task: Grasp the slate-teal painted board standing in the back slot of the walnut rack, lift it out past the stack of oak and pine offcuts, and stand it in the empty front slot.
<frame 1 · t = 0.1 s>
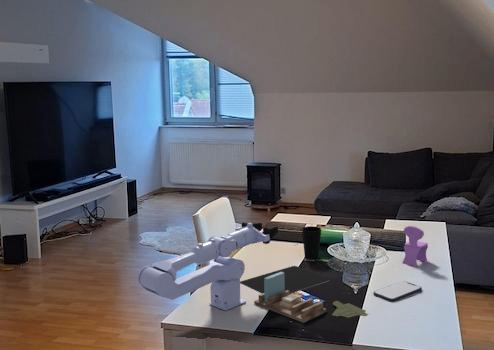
hand: (269, 227, 199), 22 cm above the table, tool horizontal, fingers open, 7 cm apart
tablet: (285, 282, 208), on the table
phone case: (397, 294, 195), on the table
olive flat irregular piece: (351, 315, 179), on the table
cup: (311, 258, 233), on the table
offcut top: (291, 300, 185), point 2 cm above the table, touching offcut low
rack: (289, 307, 185), on the table
offcut low: (291, 304, 185), point 1 cm above the table, touching offcut top, rack
board: (274, 298, 190), point 1 cm above the table, touching rack
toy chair: (414, 262, 226), on the table
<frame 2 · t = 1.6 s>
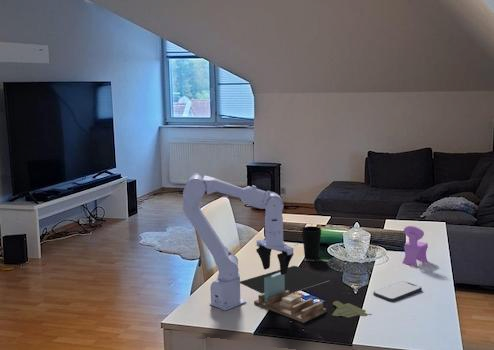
hand: (275, 271, 188), 10 cm above the table, tool pointing down, fingers open, 7 cm apart
nothing on the table moved.
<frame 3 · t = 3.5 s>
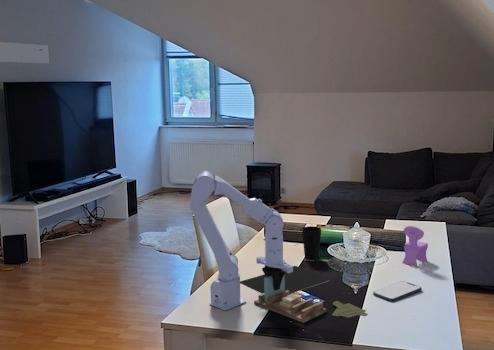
hand: (274, 288, 189), 4 cm above the table, tool pointing down, fingers closed on board, 1 cm apart
board: (274, 298, 190), point 1 cm above the table, touching gripper, rack
everything else where it was.
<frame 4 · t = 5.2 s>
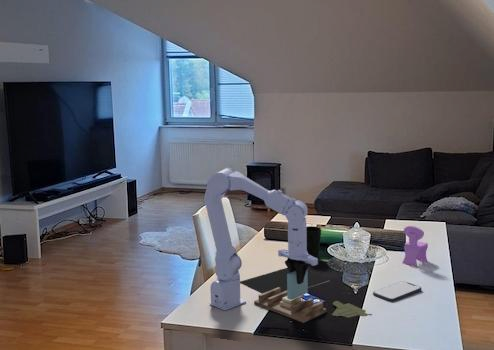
hand: (297, 282, 181), 9 cm above the table, tool pointing down, fingers closed on board
board: (297, 295, 182), point 5 cm above the table, touching gripper
everything else where it was.
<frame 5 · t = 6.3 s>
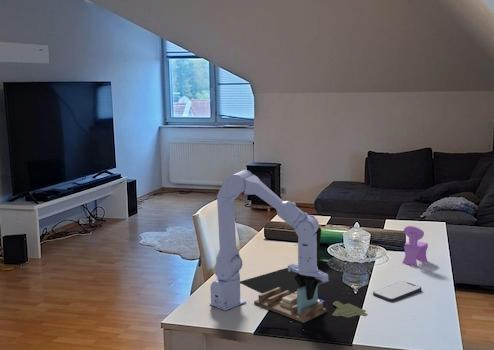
hand: (307, 298, 179), 5 cm above the table, tool pointing down, fingers closed on board, 1 cm apart
board: (307, 310, 180), point 1 cm above the table, touching gripper, rack
everything else where it was.
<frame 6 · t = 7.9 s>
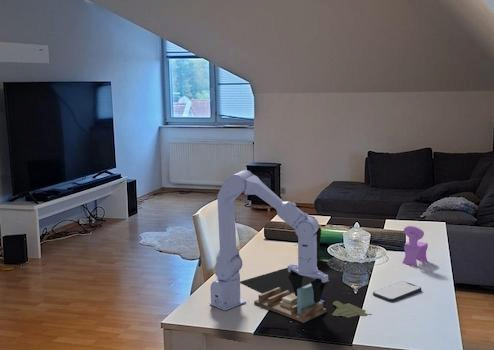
hand: (307, 298, 179), 5 cm above the table, tool pointing down, fingers open, 7 cm apart
board: (307, 310, 180), point 1 cm above the table, touching rack
everything else where it was.
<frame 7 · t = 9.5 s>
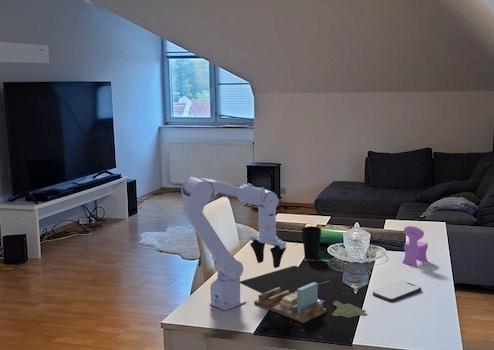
hand: (268, 264, 194), 10 cm above the table, tool pointing down, fingers open, 7 cm apart
nothing on the table moved.
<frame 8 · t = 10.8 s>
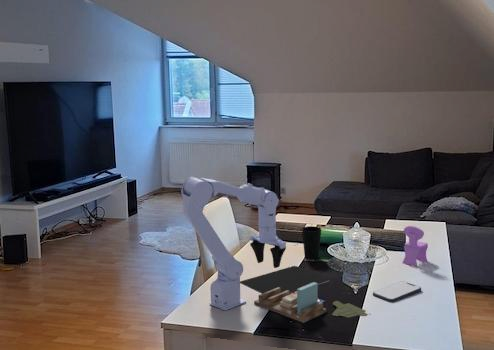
hand: (268, 264, 195), 10 cm above the table, tool pointing down, fingers open, 7 cm apart
nothing on the table moved.
at the end: board 0.0 cm from the target spot, point 1.0 cm above the table; board tilted 0°; the gripper is holding nothing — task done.
